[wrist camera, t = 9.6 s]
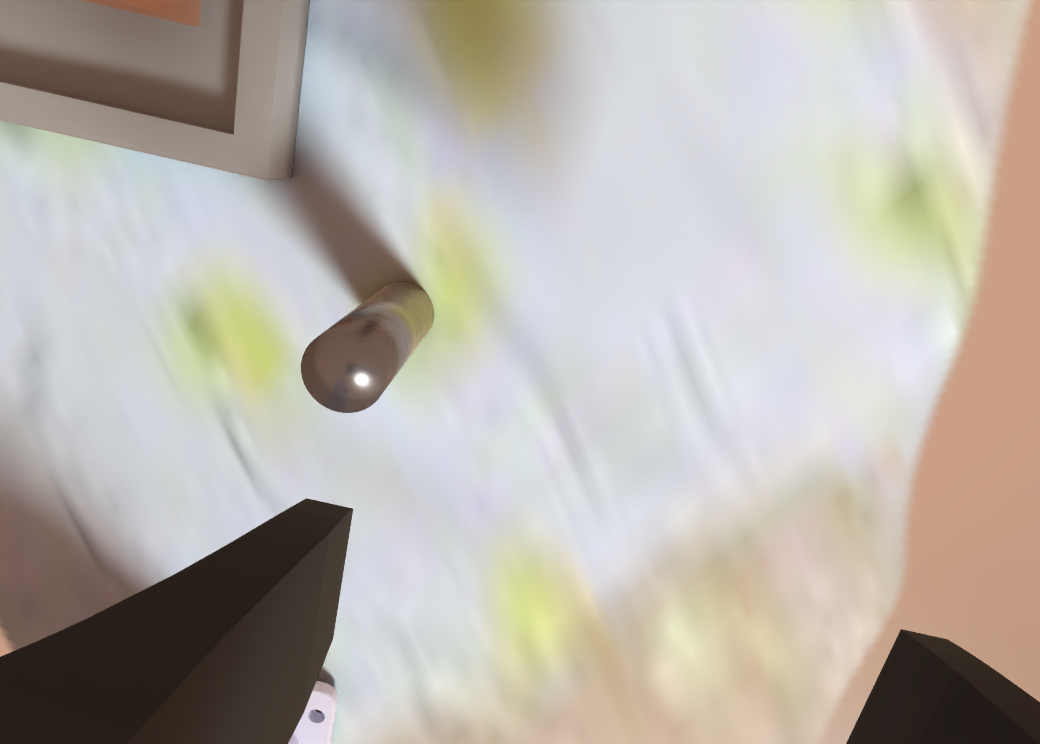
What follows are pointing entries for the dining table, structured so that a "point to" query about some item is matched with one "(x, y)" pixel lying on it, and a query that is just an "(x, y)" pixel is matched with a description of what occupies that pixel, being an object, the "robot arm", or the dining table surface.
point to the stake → (367, 348)
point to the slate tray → (161, 79)
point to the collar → (159, 9)
